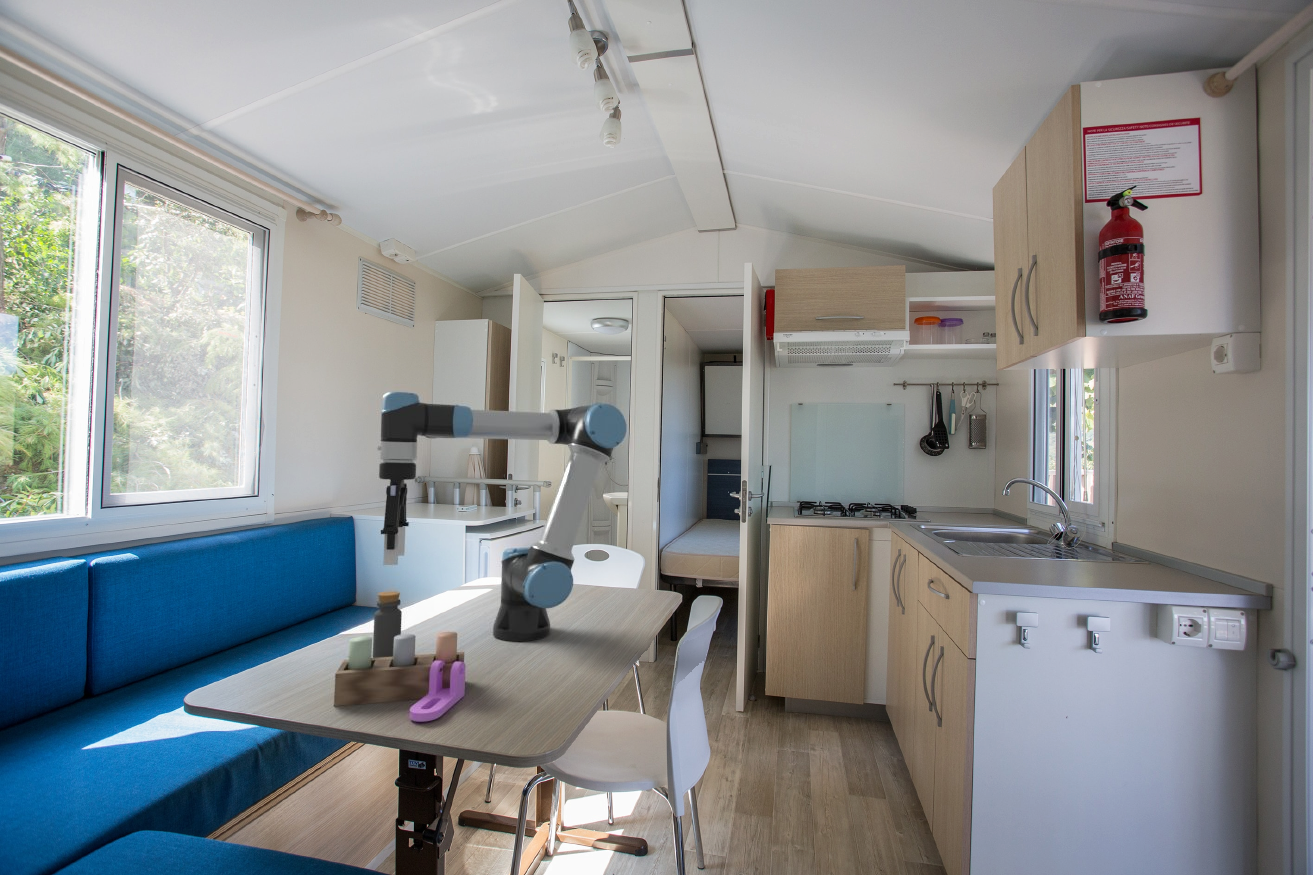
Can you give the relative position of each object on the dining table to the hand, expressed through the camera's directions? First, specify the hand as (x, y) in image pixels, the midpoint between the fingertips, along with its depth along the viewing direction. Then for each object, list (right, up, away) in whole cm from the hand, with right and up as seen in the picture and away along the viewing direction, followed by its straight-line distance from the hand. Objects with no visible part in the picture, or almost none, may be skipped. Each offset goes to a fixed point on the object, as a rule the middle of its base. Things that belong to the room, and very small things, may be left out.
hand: (394, 559), depth 132 cm
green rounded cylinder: (0, -19, -15) cm, 24 cm away
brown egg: (+15, -20, -11) cm, 27 cm away
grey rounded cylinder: (+8, -19, -13) cm, 24 cm away
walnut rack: (+7, -24, -13) cm, 28 cm away
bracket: (+17, -24, -20) cm, 35 cm away
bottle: (-5, -24, +7) cm, 26 cm away
